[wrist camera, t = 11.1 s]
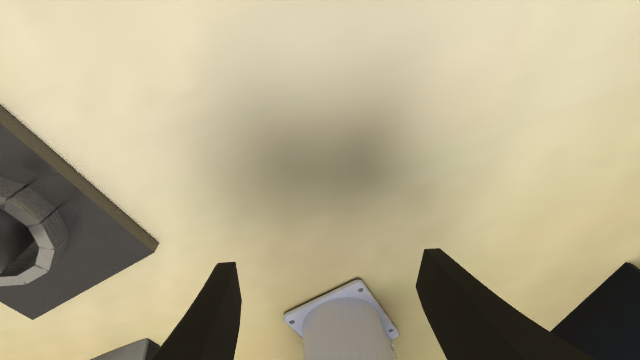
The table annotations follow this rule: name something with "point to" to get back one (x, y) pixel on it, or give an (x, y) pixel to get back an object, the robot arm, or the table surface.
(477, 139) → the table surface
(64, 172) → the metal base plate
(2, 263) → the blue-grey cylinder
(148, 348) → the external hard drive
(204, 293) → the robot arm
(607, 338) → the book
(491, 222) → the table surface
